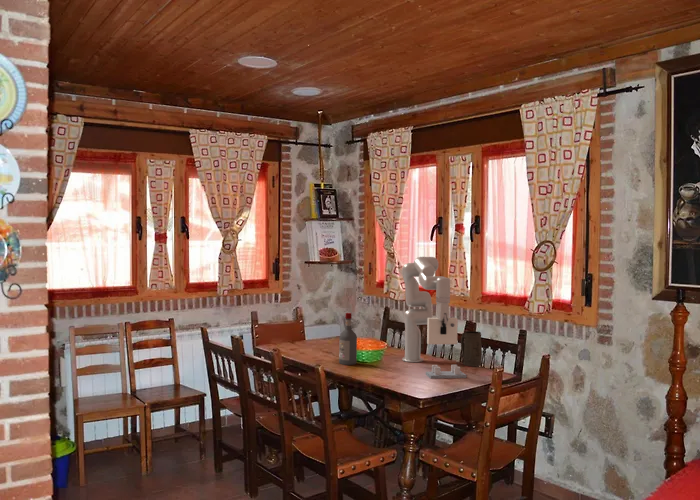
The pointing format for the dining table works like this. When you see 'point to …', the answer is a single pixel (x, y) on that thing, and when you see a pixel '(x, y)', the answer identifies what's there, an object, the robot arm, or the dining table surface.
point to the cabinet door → (434, 331)
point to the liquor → (348, 344)
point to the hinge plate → (446, 372)
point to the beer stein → (471, 348)
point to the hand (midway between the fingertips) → (442, 333)
